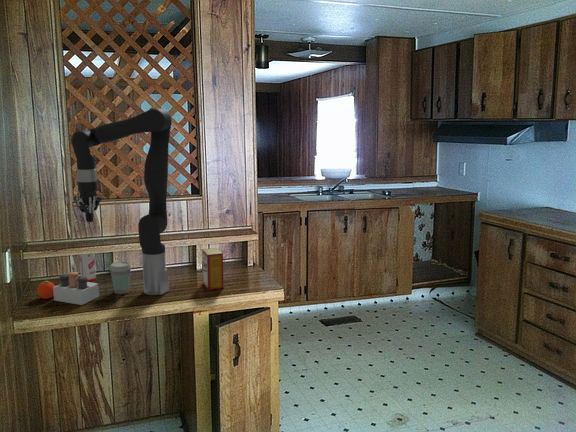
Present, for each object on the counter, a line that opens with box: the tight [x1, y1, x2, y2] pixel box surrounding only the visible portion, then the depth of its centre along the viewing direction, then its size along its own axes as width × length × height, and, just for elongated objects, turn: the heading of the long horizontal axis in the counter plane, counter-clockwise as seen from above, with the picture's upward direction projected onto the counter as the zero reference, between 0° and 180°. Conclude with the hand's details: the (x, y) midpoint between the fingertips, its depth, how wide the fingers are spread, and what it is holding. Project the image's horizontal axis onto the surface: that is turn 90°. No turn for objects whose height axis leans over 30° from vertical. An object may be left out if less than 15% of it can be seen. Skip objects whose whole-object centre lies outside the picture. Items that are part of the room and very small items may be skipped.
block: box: [53, 282, 100, 306], centre depth 210 cm, size 14×10×6 cm
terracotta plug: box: [67, 271, 79, 288], centre depth 208 cm, size 4×4×8 cm
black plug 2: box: [77, 276, 88, 290], centre depth 207 cm, size 4×4×8 cm
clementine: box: [36, 280, 56, 300], centre depth 210 cm, size 8×7×7 cm
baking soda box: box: [201, 247, 224, 291], centre depth 225 cm, size 10×6×16 cm
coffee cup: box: [109, 261, 132, 295], centre depth 217 cm, size 8×8×12 cm
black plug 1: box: [59, 273, 70, 287], centre depth 210 cm, size 4×4×8 cm
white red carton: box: [78, 252, 97, 283], centre depth 228 cm, size 6×6×16 cm
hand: (90, 221), depth 216 cm, fingers closed
